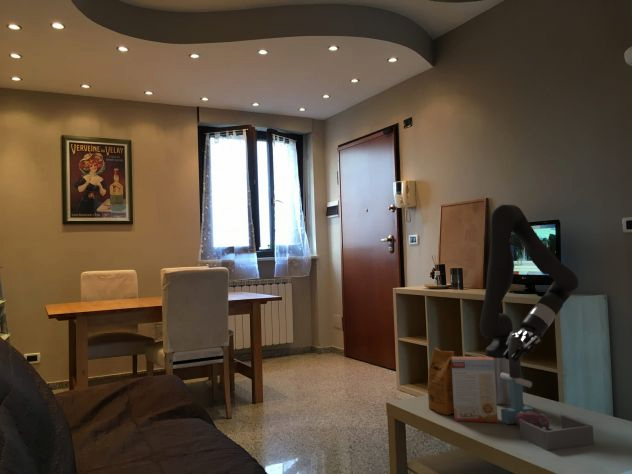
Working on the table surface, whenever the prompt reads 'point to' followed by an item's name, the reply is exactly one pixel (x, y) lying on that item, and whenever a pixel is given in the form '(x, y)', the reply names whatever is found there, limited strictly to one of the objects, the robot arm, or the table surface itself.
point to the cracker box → (474, 389)
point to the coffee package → (441, 382)
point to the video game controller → (533, 419)
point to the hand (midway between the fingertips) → (509, 358)
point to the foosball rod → (514, 385)
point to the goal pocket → (558, 434)
